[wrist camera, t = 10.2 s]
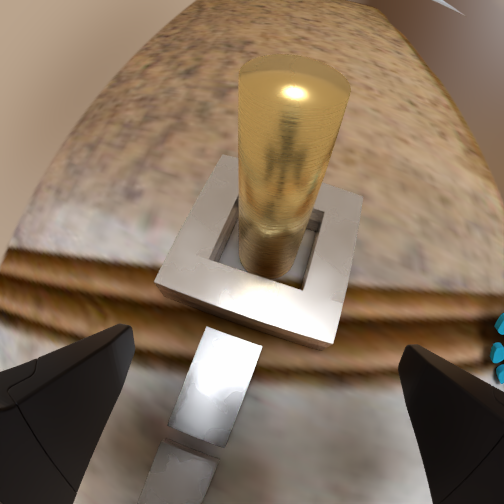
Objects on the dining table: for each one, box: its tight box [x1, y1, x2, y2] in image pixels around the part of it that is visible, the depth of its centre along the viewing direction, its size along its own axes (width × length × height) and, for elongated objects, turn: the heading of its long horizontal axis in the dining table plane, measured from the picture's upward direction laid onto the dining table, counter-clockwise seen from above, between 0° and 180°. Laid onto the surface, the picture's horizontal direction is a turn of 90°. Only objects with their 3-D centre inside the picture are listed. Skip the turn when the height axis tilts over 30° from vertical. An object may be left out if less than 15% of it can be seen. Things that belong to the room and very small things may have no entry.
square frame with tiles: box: [137, 155, 363, 504], centre depth 18 cm, size 38×10×2 cm, turn 161°
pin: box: [238, 54, 351, 279], centre depth 14 cm, size 4×4×12 cm
